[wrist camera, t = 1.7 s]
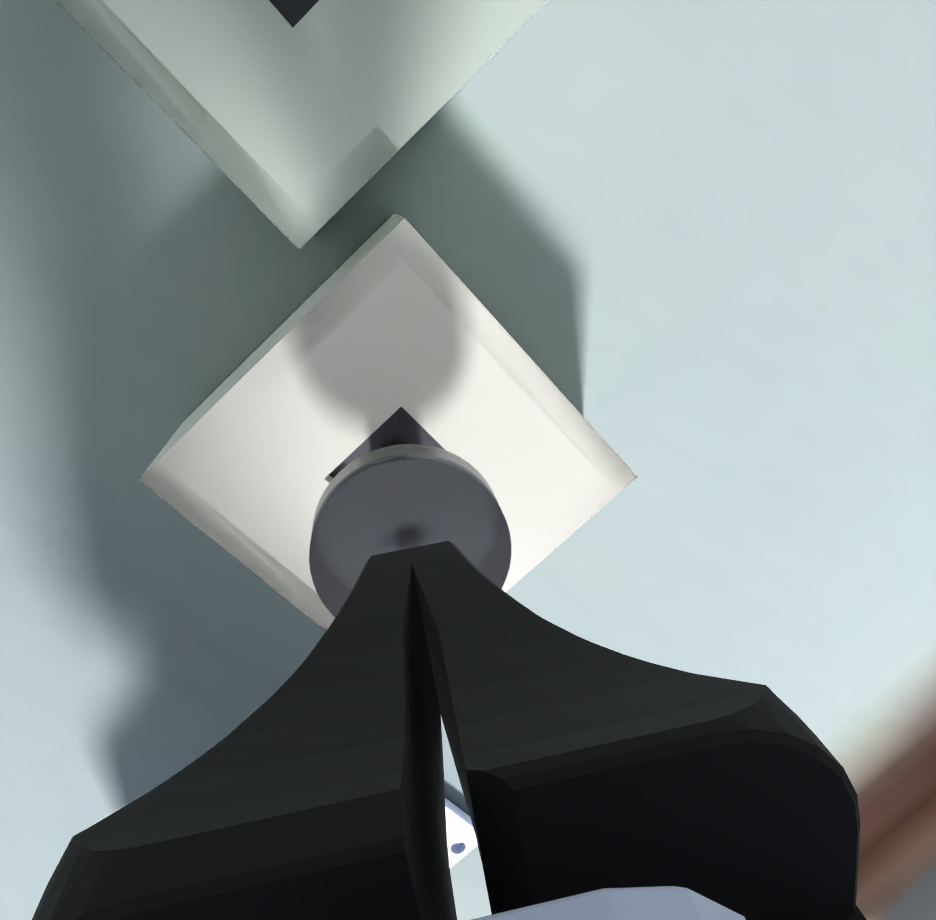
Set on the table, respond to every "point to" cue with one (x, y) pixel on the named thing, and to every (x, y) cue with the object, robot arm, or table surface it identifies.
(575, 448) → the white square block
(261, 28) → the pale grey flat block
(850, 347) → the table surface
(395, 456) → the plunger
